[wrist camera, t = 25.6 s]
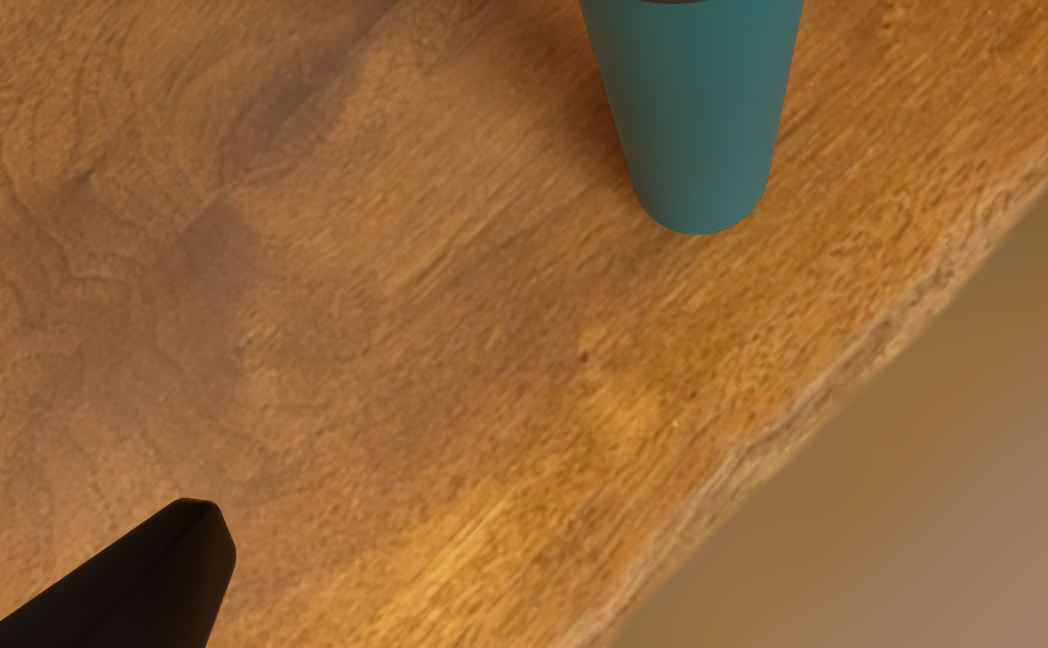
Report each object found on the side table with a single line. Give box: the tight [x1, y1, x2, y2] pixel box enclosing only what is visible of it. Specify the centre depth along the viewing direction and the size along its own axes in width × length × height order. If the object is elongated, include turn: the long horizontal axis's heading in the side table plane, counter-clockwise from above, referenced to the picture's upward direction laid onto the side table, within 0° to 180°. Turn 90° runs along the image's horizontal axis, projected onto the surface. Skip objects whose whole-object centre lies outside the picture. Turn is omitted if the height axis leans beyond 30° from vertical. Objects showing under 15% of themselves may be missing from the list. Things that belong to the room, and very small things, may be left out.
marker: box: [579, 0, 804, 235], centre depth 16 cm, size 3×3×14 cm
